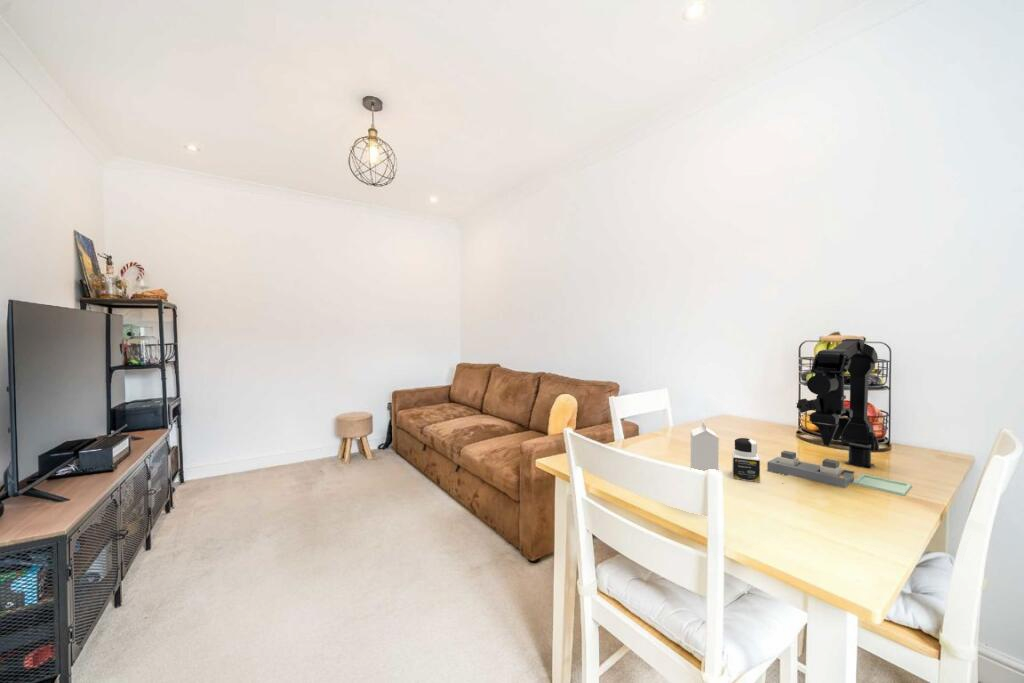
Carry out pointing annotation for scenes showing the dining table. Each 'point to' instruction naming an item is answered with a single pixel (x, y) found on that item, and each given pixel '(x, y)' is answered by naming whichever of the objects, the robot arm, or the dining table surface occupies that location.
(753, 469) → the medicine bottle
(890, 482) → the parts tray
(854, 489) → the dining table surface
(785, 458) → the twin plug
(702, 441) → the milk
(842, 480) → the grey socket board
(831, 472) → the plug
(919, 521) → the dining table surface
